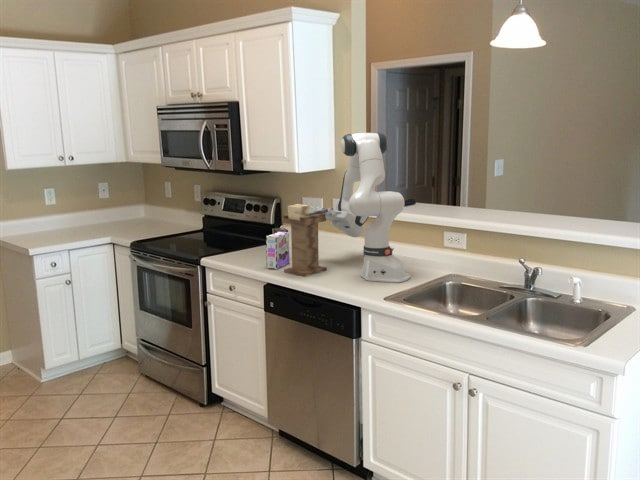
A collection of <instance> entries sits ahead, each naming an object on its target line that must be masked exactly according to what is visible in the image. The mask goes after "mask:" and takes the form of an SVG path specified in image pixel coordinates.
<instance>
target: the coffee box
mask: <svg viewBox="0 0 640 480" xmlns="http://www.w3.org/2000/svg"><path fill="white" fill-rule="evenodd" d="M271 230H272V234H275V233H278V232H289V230H288V229H287V228H284V227H276V228H275V227H274V228H272V229H271Z"/></svg>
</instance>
